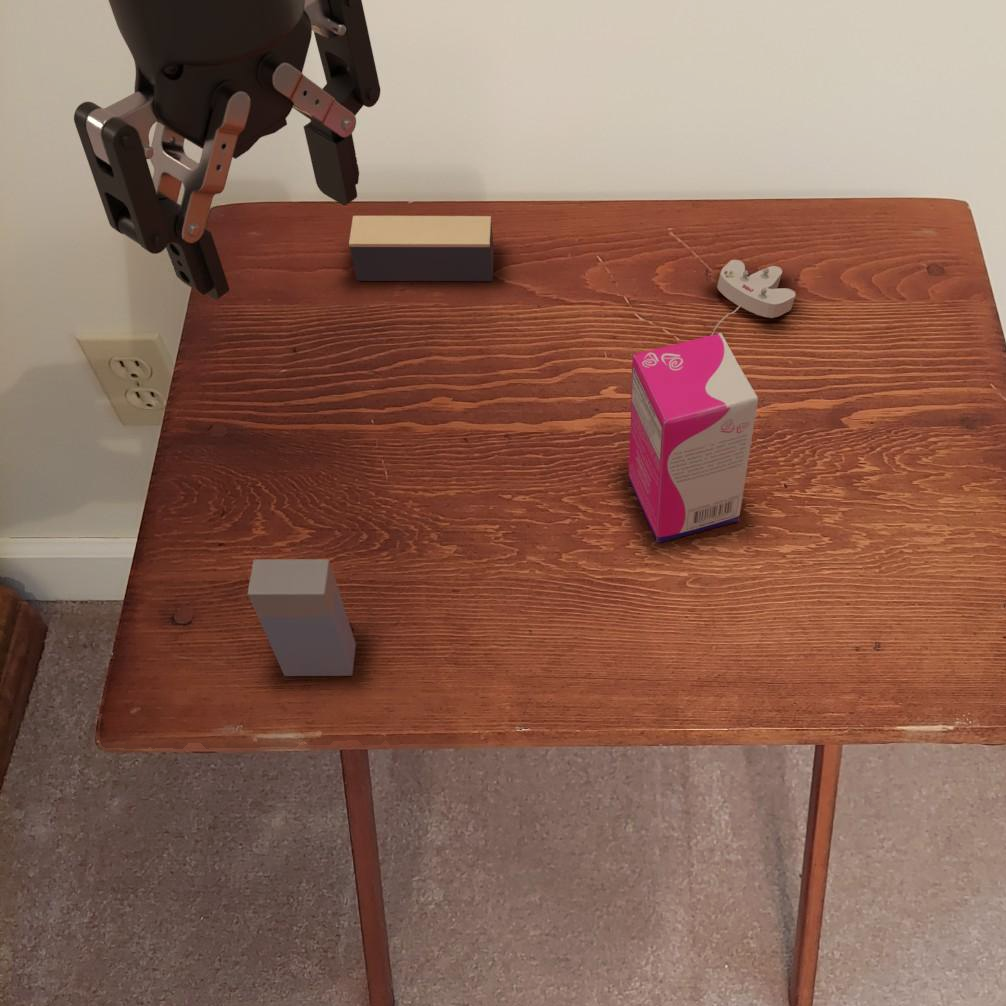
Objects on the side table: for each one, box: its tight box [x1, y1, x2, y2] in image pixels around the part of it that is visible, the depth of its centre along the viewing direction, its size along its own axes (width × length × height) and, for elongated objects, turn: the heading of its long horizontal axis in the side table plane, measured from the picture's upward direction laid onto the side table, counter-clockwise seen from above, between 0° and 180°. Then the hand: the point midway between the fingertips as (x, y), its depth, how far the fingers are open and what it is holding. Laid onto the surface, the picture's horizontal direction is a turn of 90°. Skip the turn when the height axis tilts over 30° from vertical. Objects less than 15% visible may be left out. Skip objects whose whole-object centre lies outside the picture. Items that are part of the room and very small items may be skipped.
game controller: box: [710, 259, 797, 335], centre depth 83 cm, size 6×12×3 cm, turn 158°
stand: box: [348, 215, 495, 282], centre depth 86 cm, size 10×3×4 cm, turn 91°
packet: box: [247, 558, 357, 677], centre depth 66 cm, size 4×2×9 cm, turn 91°
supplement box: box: [628, 332, 759, 543], centre depth 71 cm, size 6×6×12 cm
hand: (275, 241), depth 58 cm, fingers open, 8 cm apart
